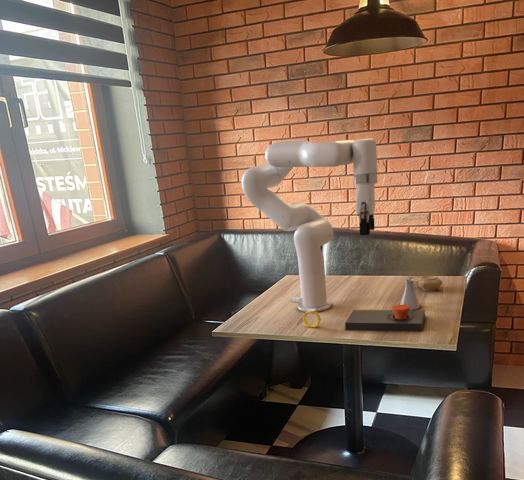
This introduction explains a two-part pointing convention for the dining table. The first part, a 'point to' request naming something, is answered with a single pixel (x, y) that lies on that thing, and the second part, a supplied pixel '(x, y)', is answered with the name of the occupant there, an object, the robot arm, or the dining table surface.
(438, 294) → the dining table surface
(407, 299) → the flask
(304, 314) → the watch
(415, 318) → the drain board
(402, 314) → the stopper
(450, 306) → the dining table surface
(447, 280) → the dining table surface
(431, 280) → the oil lamp
